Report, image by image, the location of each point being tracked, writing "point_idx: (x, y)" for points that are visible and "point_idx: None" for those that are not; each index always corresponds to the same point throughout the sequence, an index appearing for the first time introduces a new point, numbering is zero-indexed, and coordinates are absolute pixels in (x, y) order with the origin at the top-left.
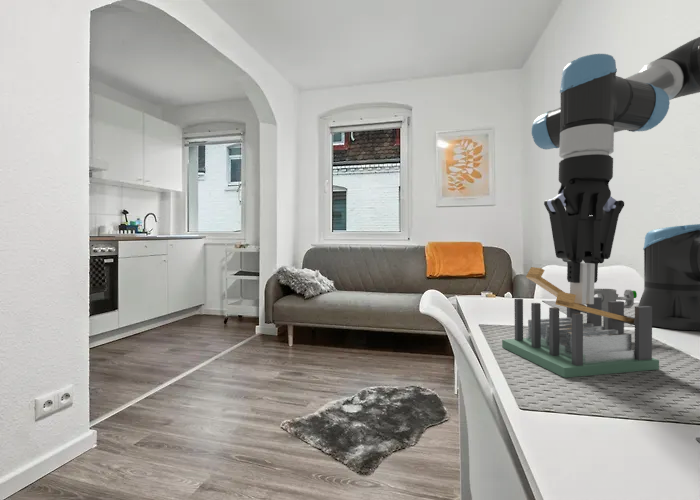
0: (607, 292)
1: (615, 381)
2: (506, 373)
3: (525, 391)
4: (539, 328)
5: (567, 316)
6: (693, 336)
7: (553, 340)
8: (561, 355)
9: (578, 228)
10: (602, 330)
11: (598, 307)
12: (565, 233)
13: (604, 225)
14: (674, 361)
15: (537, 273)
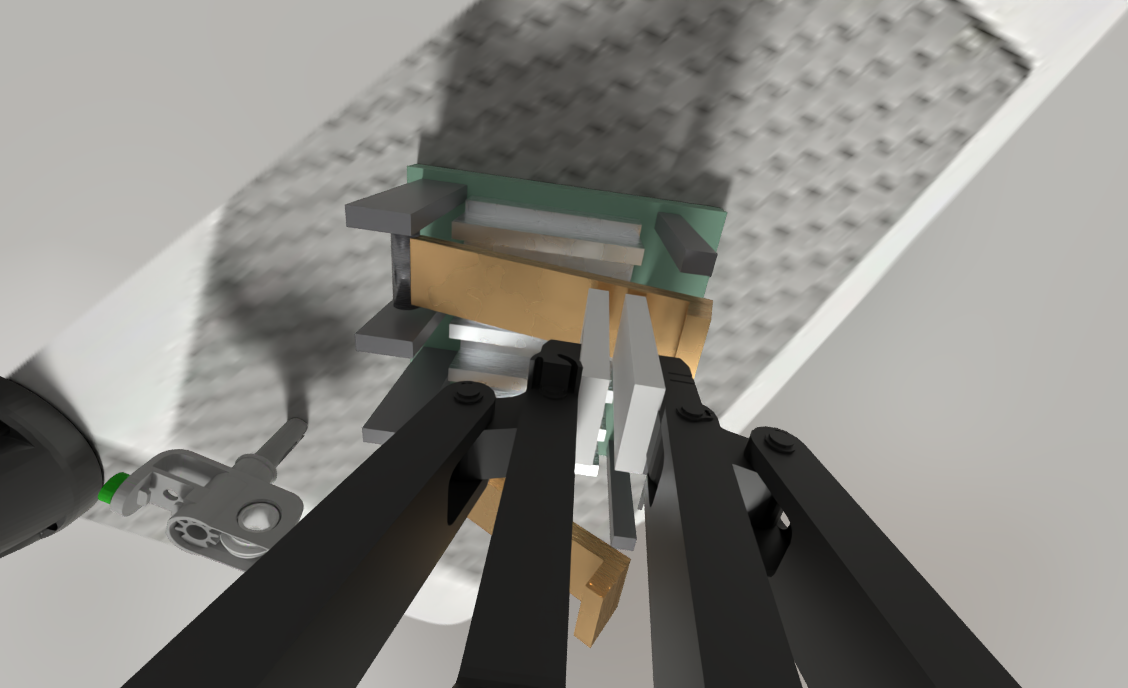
0: (214, 519)
1: (619, 135)
2: (824, 288)
3: (902, 166)
4: None
5: None
6: (52, 343)
7: None
8: None
9: (776, 625)
10: None
11: (391, 407)
12: (913, 595)
13: (335, 653)
14: (311, 198)
15: (618, 581)
